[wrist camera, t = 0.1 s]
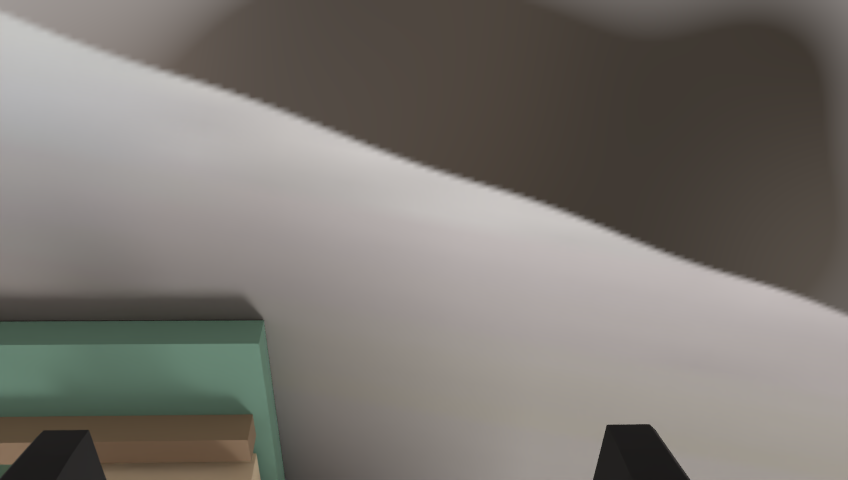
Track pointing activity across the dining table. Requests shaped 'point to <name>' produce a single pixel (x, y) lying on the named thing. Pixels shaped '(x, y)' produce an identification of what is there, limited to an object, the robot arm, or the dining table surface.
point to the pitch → (142, 390)
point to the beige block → (183, 470)
